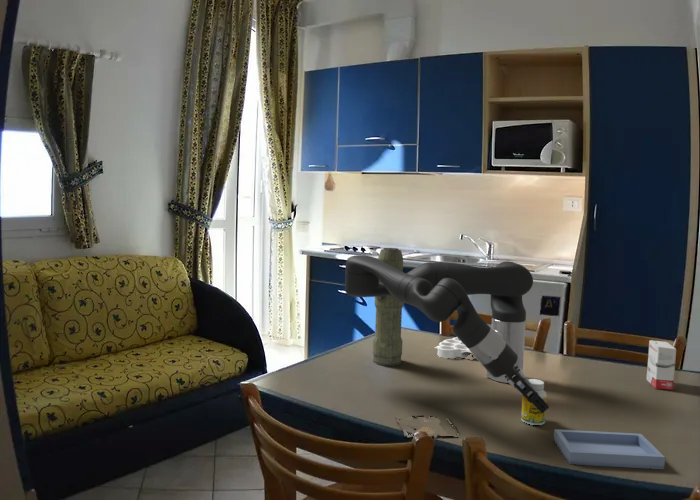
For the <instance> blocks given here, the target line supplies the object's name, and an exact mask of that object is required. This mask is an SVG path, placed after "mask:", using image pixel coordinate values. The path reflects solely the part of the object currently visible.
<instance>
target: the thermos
mask: <svg viewBox="0 0 700 500" xmlns="http://www.w3.org/2000/svg"><path fill="white" fill-rule="evenodd" d="M377 259H379V260H381V261H383V262H385V263H387V264H388V265H390V266H392V267H394V268H396V269H397V270H399V271H401V272H404V271H403V270H404V257H403V253H402V250H401V249H399V248H397V247H384V248H382V249H380V251H379V254H378V257H377ZM379 283H382V282H381V281H380V279H379ZM404 305H405V303H404V302H401V301H399V300H397V299H396V298H395V297H393V296H377V297H374V307H375V329H374V333H375V334H374V338H373V340H372V355H373V357H372V362H373V363H374V364H375V363H376V364H375V365H379V366H384V367H395V365H396V366H399V365H401V364H402V355H403V339H402V319H403V318H402V317H403V314H402V313H403V307H404Z"/></svg>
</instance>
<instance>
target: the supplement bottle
mask: <svg viewBox="0 0 700 500" xmlns="http://www.w3.org/2000/svg"><path fill="white" fill-rule="evenodd" d="M528 380H529V381H530V382H531V383H532V388H533V389H534V390H535V391H536V392H538V394H539V396H540V397H541V398H542V399H543V400H544V401H545V402H546V403H547V400H548V399H547V396H548V395H547V392H546V390H544V388H545V383H544V381H543V380H540V379H534V378H528ZM532 393H533V392H532V391H530V392H529V393H528V394H527V395H528V396H529V395H530V394H532ZM521 395H522V397H521V414H520V416H521V417H520V419H521V421H522V422H523V423H524V422H525V423H524V424H526V423H527V424H526V425H528V424H530V425H529V426H533V425H540V426H543V425H544V424H545V423H546V415H547V414H546V413H547V410H546V411H544V412H541V411H540V410H539V409H538V408H537V407H536V406H535V405H534V404H533V403H532V402H531V403H530V402H529V401H528V400H527V399H526V398H525V397H524V396H523V394H521Z"/></svg>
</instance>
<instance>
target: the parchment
mask: <svg viewBox="0 0 700 500" xmlns="http://www.w3.org/2000/svg"><path fill="white" fill-rule="evenodd" d="M411 416H412V417H415V416H416V417H415V418H417V417H423V420H424V422H429V421H430V422H431V420H435V419H434V418H431V417H434V416H433V415H429V416H430V418H424V416H425V415H411ZM447 418H448V417H447ZM448 419H449V418H448ZM449 420H450V421H451V418H450V419H449ZM451 422H452V424H450V426H451V425H454V422H453V421H451ZM421 427H422V426H421ZM453 427H455V428H456V429H457V430H458V428H457V426H455V425H454V426H453ZM453 427H452V428H453ZM428 428H429V427H422V428H421V429H419V430H418V431H426V432H427V431H428V432H427V433H428V434H430V435H431V436H432V435H433V436H432V438H433V437H434V433H435V431H437V430H435V429H434V430H435V431H434V430H432V429H431V428H429V429H428ZM400 429H401V430H402V431H403V435H404V437H406V438H412V437H414V436H413V434H414V433H412V434H411V435H410V434H409V435H408V433H407V432H406V431H405V430H403V429H402V428H400ZM430 429H431V430H430ZM416 432H417V431H416ZM456 432H457V433H459V434H460V431H459V432H458V431H456ZM438 435H439V434H437V437H439V436H440V435H439V436H438Z"/></svg>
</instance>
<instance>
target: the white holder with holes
mask: <svg viewBox="0 0 700 500" xmlns="http://www.w3.org/2000/svg"><path fill="white" fill-rule="evenodd" d="M433 349H436V350H437V355H438V356H439V357H438V356H437V355H436V356H437V357H438V358H440V357H443V358H456V357H461V358H465V357H467V356H468V355H470V354H472V353H471V352H470V350H469V349H468V348H467V347H466V346H465V345H464V344H463V343H462V341H461V340H460V339H459V338H458V337H457V336H456V337H452V338H449V339H444V340H443V341H440V342H439V344H438V345H437V346H434V348H433ZM443 358H442V359H443ZM461 358H460V359H461ZM456 359H457V358H456ZM474 359H475V360H476V358H475V357H473V358H472V359H470V360H469V361H472V360H474Z"/></svg>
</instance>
